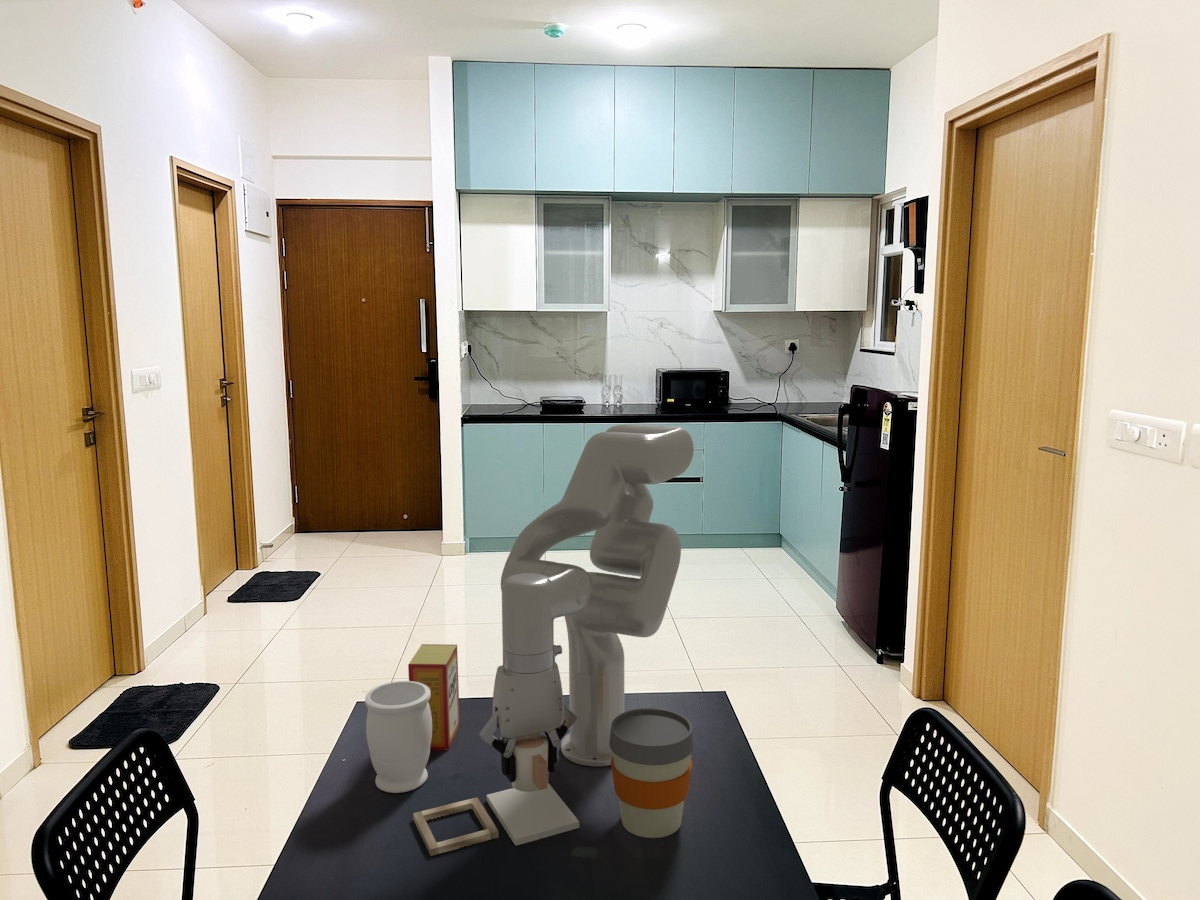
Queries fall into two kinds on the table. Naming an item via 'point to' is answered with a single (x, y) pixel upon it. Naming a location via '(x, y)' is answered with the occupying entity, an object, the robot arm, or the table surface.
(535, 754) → the cylinder with brown end
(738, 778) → the table surface
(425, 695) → the jar
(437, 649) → the baking soda box
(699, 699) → the table surface
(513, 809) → the mat
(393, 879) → the table surface
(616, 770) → the reusable coffee cup
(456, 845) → the wooden square frame
